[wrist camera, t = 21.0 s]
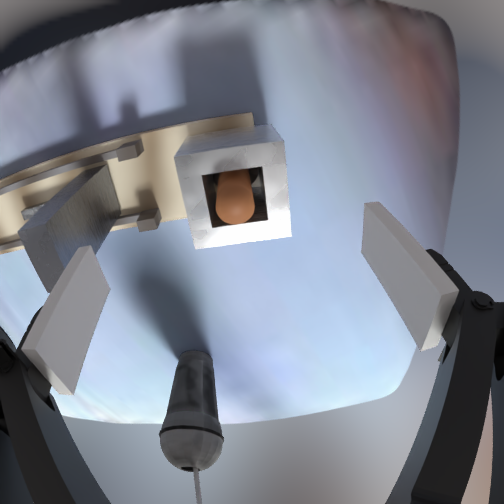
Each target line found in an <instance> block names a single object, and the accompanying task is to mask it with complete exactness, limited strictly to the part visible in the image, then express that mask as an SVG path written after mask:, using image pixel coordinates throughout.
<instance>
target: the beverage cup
mask: <svg viewBox="0 0 504 504" xmlns="http://www.w3.org/2000/svg"><path fill="white" fill-rule="evenodd" d="M159 436H160V444H161V448H162V451H163V453H164V455H165V457H166V458H167V460H168V461H169V462H170V463H171V464H172V465H174V466H175V467H177V468H179V469H181V470H184V471H188V472H194V481H195V489H196V498H197V504H202V499H201V492H200V482H199V473H198V471H202V470H205V469H207V468H209V467H210V466H212V465H213V464H214V463H215V462H216V460H217V459H218V458H219V456H220V454H221V451H222V444H223V442H224V437H223V436H222V430H221V426H220V422H219V420H218V410H217V399H216V389H215V377H214V369H213V360H212V358H211V357H210V356H209V355H208V354H206V353H204V352H201V351H187V352H184V353H182V354H181V355H180V357H179V362H178V365H177V368H176V372H175V376H174V381H173V386H172V390H171V395H170V400H169V404H168V409H167V414H166V417H165V419H164V422H163V425H162V429H161V431H160V433H159Z"/></svg>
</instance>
